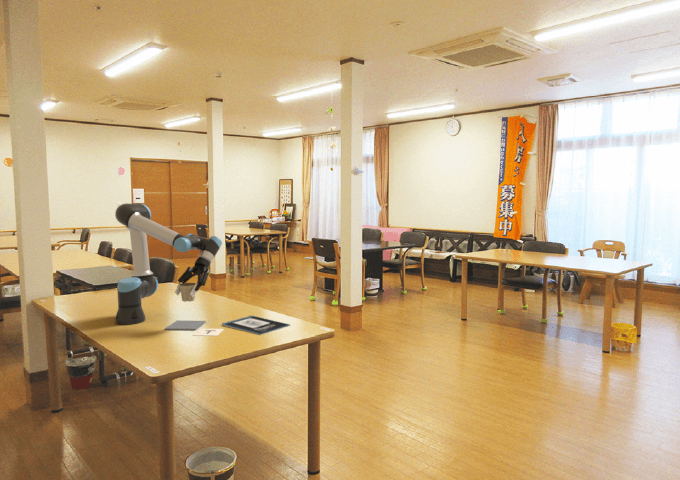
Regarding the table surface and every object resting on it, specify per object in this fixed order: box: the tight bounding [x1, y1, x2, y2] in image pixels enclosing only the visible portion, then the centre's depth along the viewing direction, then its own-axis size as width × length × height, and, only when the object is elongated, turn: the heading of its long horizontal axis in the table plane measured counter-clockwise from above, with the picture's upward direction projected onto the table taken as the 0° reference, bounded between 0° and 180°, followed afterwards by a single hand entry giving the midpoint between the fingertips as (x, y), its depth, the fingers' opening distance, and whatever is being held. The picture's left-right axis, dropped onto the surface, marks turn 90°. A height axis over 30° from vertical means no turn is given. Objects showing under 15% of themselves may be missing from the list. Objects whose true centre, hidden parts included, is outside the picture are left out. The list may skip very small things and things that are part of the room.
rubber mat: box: [164, 319, 207, 331], centre depth 242 cm, size 16×16×1 cm
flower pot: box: [178, 282, 197, 303], centre depth 239 cm, size 9×9×9 cm
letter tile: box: [192, 328, 225, 337], centre depth 230 cm, size 12×12×1 cm
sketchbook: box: [221, 315, 291, 336], centre depth 243 cm, size 22×30×2 cm
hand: (183, 294), depth 236 cm, fingers closed on flower pot, 9 cm apart
